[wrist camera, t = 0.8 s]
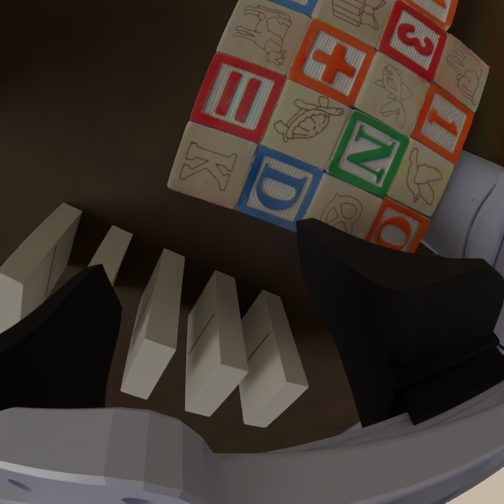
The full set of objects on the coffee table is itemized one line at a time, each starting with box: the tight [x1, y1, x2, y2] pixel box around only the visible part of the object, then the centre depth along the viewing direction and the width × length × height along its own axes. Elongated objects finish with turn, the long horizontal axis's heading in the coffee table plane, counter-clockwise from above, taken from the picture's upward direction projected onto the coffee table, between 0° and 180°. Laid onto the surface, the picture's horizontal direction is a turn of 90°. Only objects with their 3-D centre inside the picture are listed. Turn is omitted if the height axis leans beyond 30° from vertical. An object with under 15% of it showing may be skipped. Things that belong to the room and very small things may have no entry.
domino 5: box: [239, 290, 309, 427], centre depth 22 cm, size 2×5×9 cm, turn 150°
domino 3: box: [121, 248, 185, 400], centre depth 19 cm, size 2×5×9 cm, turn 150°
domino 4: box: [185, 270, 249, 417], centre depth 21 cm, size 2×5×9 cm, turn 150°
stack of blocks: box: [167, 0, 489, 253], centre depth 13 cm, size 21×6×12 cm
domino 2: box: [88, 225, 133, 287], centre depth 18 cm, size 2×5×9 cm, turn 150°
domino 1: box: [0, 203, 83, 334], centre depth 17 cm, size 2×5×9 cm, turn 150°
